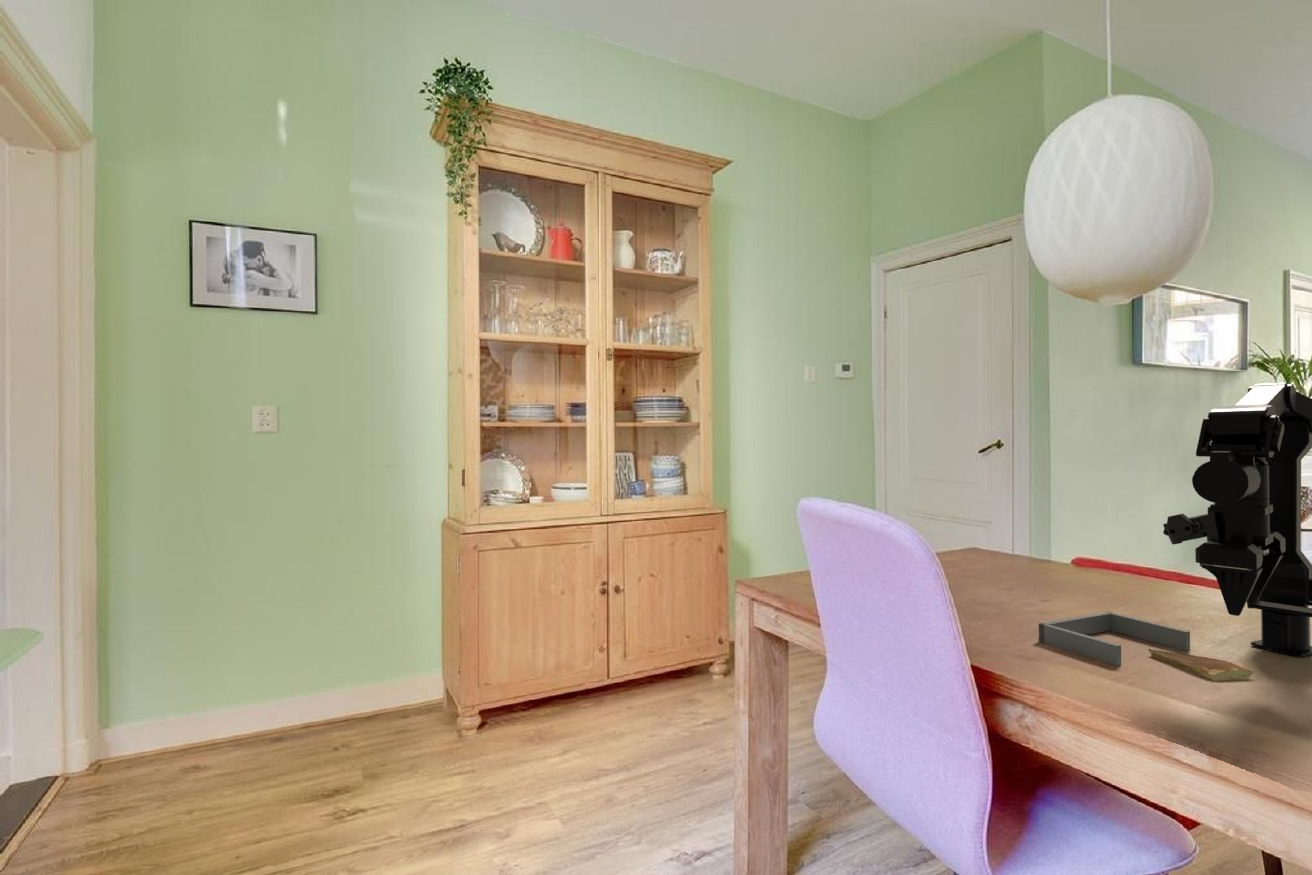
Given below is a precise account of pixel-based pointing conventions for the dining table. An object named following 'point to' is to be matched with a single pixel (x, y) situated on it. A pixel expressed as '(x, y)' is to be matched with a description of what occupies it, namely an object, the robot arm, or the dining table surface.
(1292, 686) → the dining table surface
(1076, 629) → the box
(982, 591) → the dining table surface
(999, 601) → the dining table surface
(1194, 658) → the shard
